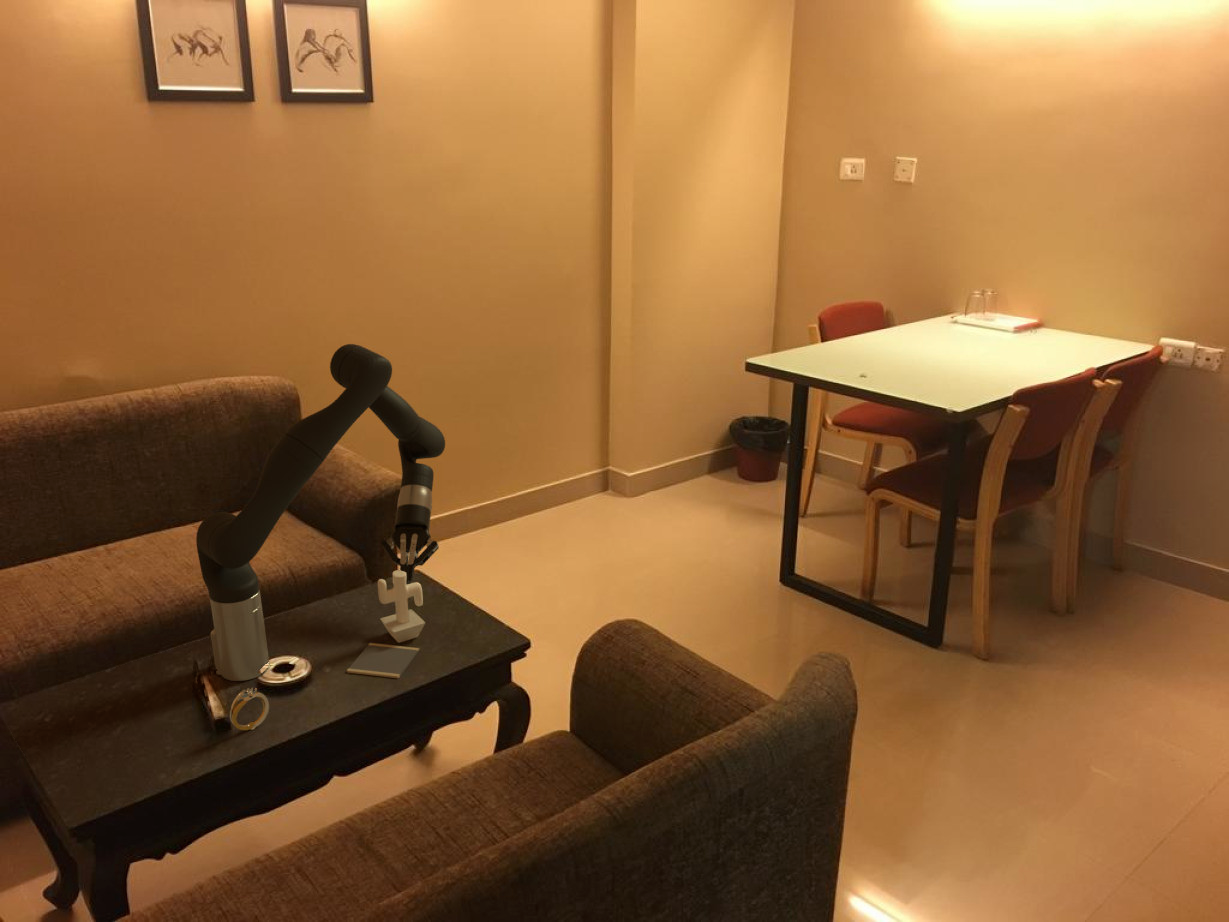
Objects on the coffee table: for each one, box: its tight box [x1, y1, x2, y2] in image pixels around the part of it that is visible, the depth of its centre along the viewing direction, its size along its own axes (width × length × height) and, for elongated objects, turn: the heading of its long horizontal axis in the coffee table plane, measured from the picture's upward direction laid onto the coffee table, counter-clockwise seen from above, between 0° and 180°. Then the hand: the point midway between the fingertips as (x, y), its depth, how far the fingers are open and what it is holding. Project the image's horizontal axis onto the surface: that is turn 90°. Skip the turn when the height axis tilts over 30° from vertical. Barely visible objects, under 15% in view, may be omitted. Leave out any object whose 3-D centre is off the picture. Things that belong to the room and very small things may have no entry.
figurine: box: [377, 569, 426, 644], centre depth 207 cm, size 7×9×15 cm
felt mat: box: [346, 642, 420, 679], centre depth 200 cm, size 11×11×1 cm
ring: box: [229, 687, 270, 731], centre depth 177 cm, size 7×3×8 cm, turn 132°
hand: (405, 582), depth 212 cm, fingers closed
